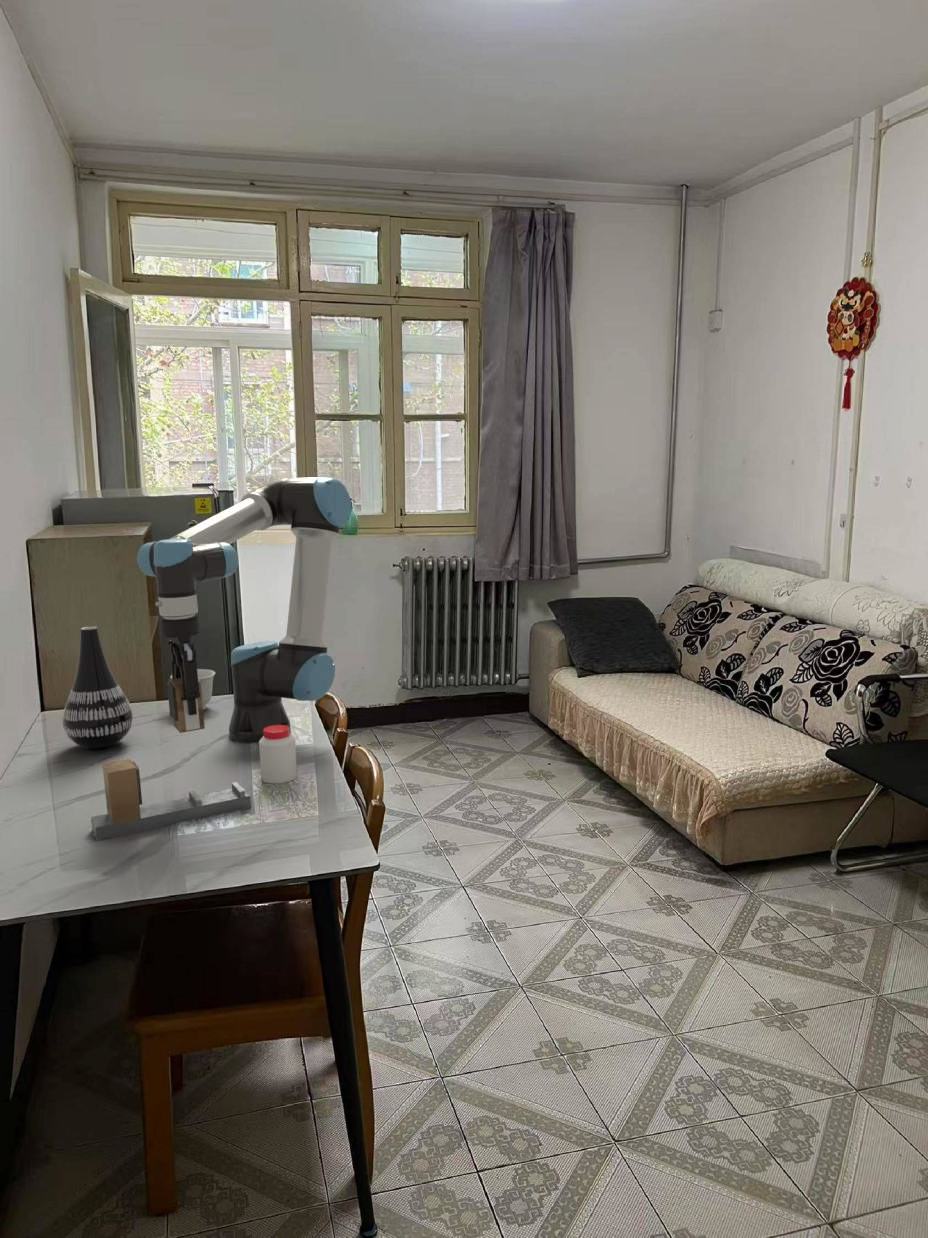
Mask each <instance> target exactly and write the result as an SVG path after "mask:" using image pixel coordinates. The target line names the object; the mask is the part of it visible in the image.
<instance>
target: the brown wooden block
mask: <svg viewBox="0 0 928 1238" xmlns="http://www.w3.org/2000/svg"><path fill="white" fill-rule="evenodd" d="M198 684H199V693H200V697H198V698H197V700H198V712H199V723H200V729H194V730H188V731H186V727H185V716H184V705H183V701H181V698H183V697H184V692H183V685H182V679H181V678H175V679H171V678H169V680H168V682H166V686H167V698H168V707H169V708H168V709H169V715H170V717H171V718H172V724H173V727H174V728H175V729H176V730H177V731H178V733H180V734H182V733H188V732H191V731H193V732H195V731H199V730H205V716H204V710H203V704H202V692H201V682H200V681H199V680H198Z"/></svg>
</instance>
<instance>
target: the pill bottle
mask: <svg viewBox="0 0 928 1238" xmlns="http://www.w3.org/2000/svg"><path fill="white" fill-rule="evenodd" d="M263 732H264V736H263V737H262V738H261V739H260V740H259V742H258V750H259V761H260V765H259V766H260V777H261V780H262V781H263V782H265V783H268V784H282V783H286V782H290V781H293V780H295V779H296V778H298V764H297V761H298V760H297V747H296V738H295V736H293V735H292V734H291V733H289V727H288V726H286V725H273V726H268V727H266V728H264V729H263Z"/></svg>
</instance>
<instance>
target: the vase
mask: <svg viewBox="0 0 928 1238" xmlns="http://www.w3.org/2000/svg"><path fill="white" fill-rule="evenodd" d="M79 636H80V637H79V652H78V653H79V655H78V663H77V668H76V672H75V677H74V680H73V684H72V686H71V690H70V692H69V695H68V698H67V701H66V703H65V706H64V708H63V714H62V728H63V730H64V733H65V734H66V735H67V737H68V739H70V741H72V743H74V744H76V745H77V746H80V747H81V748H82V747H83V748H86V749H87V750H89V751H101V750H107V749H110V748H113V747H114V746H115V745H116V744H117V743H119V742H120V741H122V740H123V739H124V738H125V737H126V736H127V735H128V734H129V732H130V730H131V727H132V725H133V721H134V719H133V718H134V715H133V710H132V705H131V704H130V702H129V700H128V698H127V696H126V694H125V693H124V692H123V690H122V688H121V687H120V685H119V683H118V682H117V681H116V680H117V679H116V678H115V676H114V675H113V673H112V670H111V669H110V667H109V664H108V661H107V658H106V655H105V652H104V649H103V645H102V642H101V637H100V634H99V628H98V626H85V627H81V628H80V629H79Z"/></svg>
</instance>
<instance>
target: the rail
mask: <svg viewBox="0 0 928 1238" xmlns="http://www.w3.org/2000/svg"><path fill="white" fill-rule="evenodd" d="M102 772H103V773H102V774H103V781H104V782H103V783H104V794H105V801H106V811H107V812H106V813H105V814H100V815H95V816H90V820H91V821H90V822H91V830H92V832H93V835H94V837H95V839H96V841H97V842H98V841H103V840H107V839H112V838H116V837H121V836H124V835H131V834H136V833H140V832H144V831H149V830H154V829H157V828H162V827H168V826H173V825H176V824H181V823H185V822H186V823H187V822H190V821H195V820H201V819H203V818H204V819H206V818H209V817H214V816H218V815H223V814H228V813H232V812H237V811H242V810H246V809H247V810H248V809H251V808H252V800H251V795H250V793H248V792H247V790H246V789H245V788H244V787H242V786H241V785H240V784H239V783H238V782H237V781H236V782H231V788H228V789H222V790H220V791H213V792H209V793H204V794H197V793H196V791H195V790H189V791H188V797H184V798H183V797H182V798H179V799H174V800H169V801H164V802H159V803H154V804H148V805H144V806H142V805H143V798H142V797H143V796H142V786H141V785H142V784H141V775H140V768H139V767H138V765H137V764H136V762H135V761H133V760H132V759H131V758H128V759H122V760H116V761H110V762H106V763H102Z"/></svg>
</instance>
